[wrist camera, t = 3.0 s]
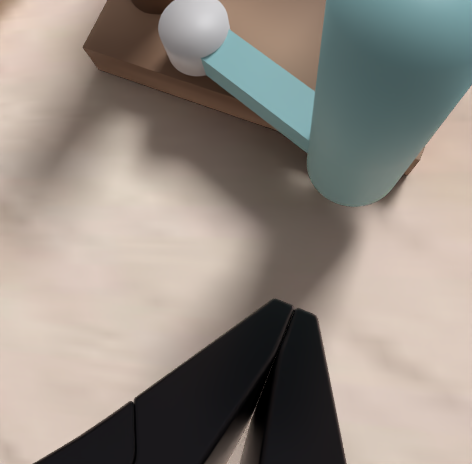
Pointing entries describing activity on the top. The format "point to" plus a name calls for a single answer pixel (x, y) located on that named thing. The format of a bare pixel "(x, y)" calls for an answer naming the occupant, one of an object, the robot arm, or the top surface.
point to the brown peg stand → (241, 23)
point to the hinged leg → (342, 83)
